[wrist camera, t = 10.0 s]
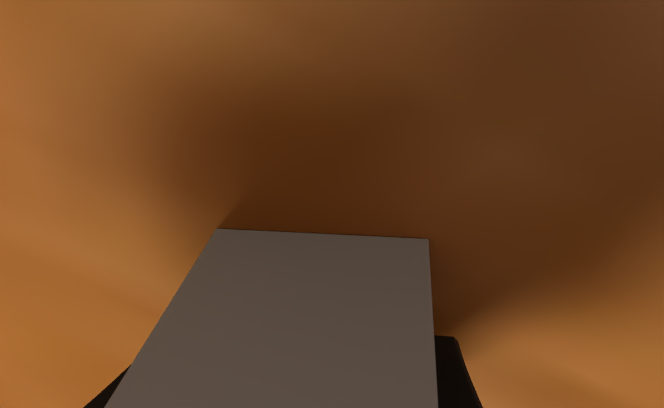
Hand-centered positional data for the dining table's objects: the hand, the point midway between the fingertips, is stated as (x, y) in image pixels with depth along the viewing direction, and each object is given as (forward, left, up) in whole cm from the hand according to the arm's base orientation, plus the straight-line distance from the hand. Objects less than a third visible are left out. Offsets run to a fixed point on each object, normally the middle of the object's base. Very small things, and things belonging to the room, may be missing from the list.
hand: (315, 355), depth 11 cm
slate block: (0, 0, -1) cm, 1 cm away
